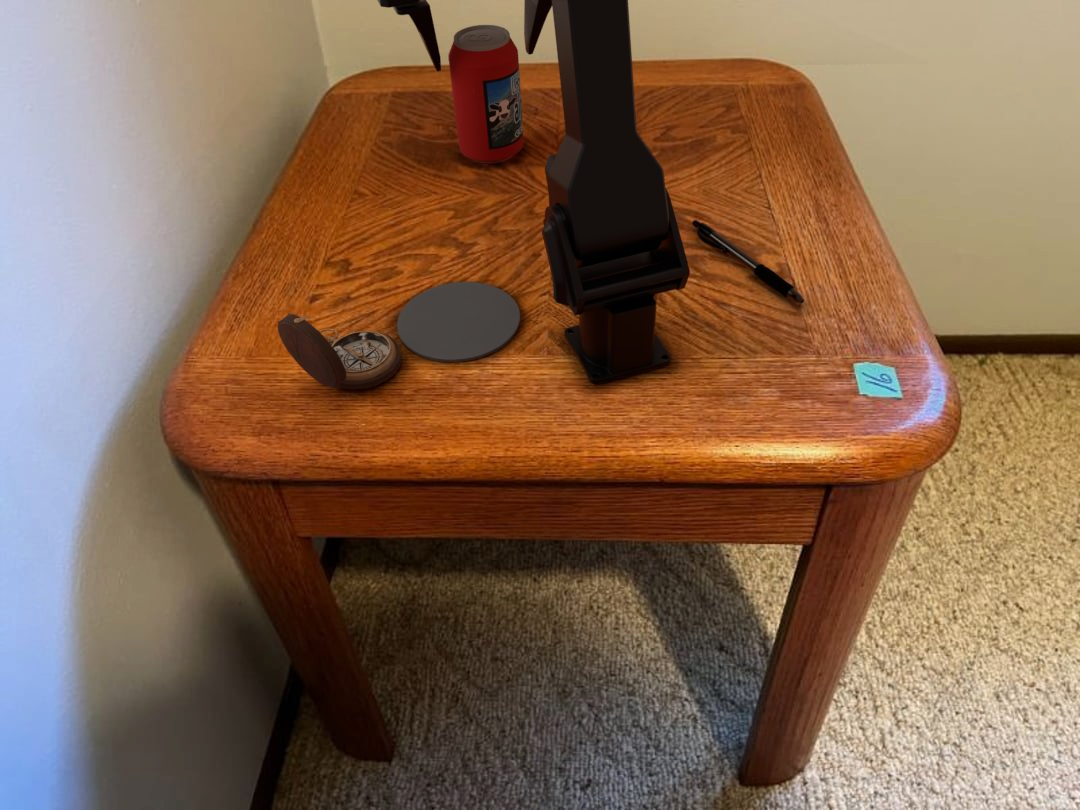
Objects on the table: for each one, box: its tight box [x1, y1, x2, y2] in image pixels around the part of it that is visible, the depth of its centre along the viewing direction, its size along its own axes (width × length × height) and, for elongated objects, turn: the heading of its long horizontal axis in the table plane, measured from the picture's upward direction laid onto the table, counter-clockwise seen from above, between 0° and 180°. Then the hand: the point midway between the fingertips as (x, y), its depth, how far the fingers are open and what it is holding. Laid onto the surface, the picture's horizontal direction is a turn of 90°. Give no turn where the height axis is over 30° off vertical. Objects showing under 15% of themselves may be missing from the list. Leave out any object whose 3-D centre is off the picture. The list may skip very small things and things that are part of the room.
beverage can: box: [447, 24, 524, 164], centre depth 85 cm, size 7×7×12 cm
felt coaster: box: [396, 281, 521, 363], centre depth 69 cm, size 10×10×1 cm
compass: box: [277, 312, 403, 390], centre depth 63 cm, size 8×8×7 cm
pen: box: [691, 219, 805, 304], centre depth 72 cm, size 14×2×1 cm, turn 30°
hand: (484, 61), depth 82 cm, fingers open, 9 cm apart
